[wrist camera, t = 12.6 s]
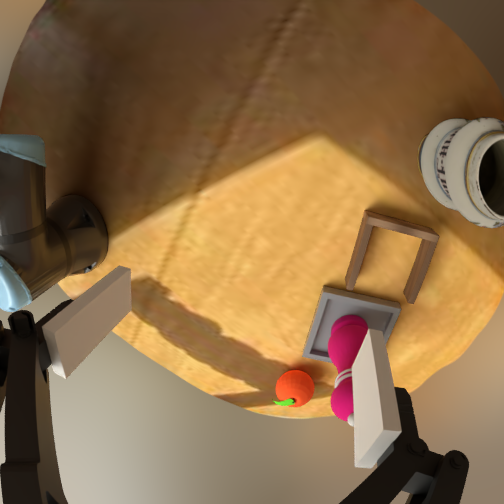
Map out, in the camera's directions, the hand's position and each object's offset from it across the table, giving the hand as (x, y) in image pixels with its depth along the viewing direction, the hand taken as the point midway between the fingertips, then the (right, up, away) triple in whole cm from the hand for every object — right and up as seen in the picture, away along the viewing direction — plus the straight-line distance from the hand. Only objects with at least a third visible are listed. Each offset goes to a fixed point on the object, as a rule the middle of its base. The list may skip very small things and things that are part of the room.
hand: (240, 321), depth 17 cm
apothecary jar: (+28, +17, +22) cm, 40 cm away
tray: (+17, -9, +35) cm, 39 cm away
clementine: (+9, -20, +41) cm, 46 cm away
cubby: (+21, +3, +29) cm, 36 cm away
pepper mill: (+17, -9, +34) cm, 39 cm away
